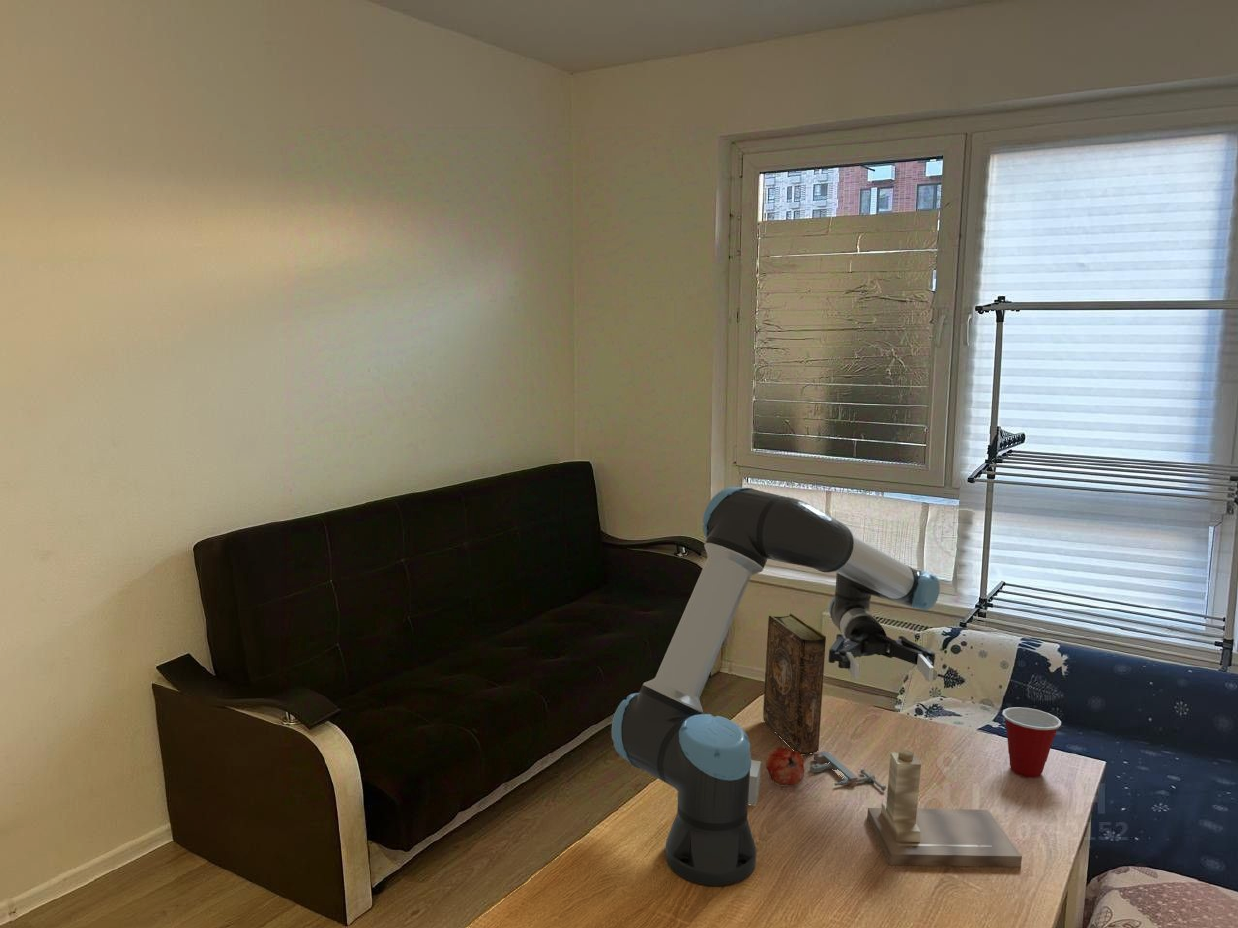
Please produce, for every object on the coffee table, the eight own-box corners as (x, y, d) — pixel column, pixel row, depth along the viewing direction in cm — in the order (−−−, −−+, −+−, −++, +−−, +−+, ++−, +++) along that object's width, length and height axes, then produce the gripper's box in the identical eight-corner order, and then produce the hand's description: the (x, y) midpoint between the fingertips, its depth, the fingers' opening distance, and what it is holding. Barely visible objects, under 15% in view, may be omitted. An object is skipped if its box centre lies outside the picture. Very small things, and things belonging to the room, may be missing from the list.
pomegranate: (760, 786, 180) (770, 779, 172) (762, 749, 184) (772, 740, 175) (797, 792, 180) (809, 785, 171) (798, 754, 184) (810, 745, 175)
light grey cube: (728, 785, 177) (729, 756, 176) (759, 790, 175) (761, 761, 174) (723, 801, 171) (724, 771, 170) (755, 806, 170) (757, 776, 168)
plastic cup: (1049, 761, 188) (1056, 707, 186) (1059, 788, 178) (1066, 731, 176) (993, 753, 191) (999, 700, 189) (1000, 779, 181) (1006, 723, 179)
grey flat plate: (889, 864, 153) (890, 853, 152) (867, 817, 166) (867, 807, 166) (1020, 866, 153) (1022, 855, 152) (987, 819, 167) (988, 809, 166)
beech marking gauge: (896, 841, 156) (902, 765, 153) (881, 812, 165) (886, 740, 162) (919, 841, 156) (926, 766, 153) (903, 812, 165) (909, 740, 162)
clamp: (801, 753, 186) (843, 746, 189) (800, 763, 186) (842, 756, 189) (842, 791, 172) (887, 783, 175) (842, 802, 172) (886, 793, 176)
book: (821, 752, 190) (829, 638, 185) (798, 756, 188) (805, 641, 184) (784, 717, 205) (790, 612, 201) (762, 720, 204) (768, 614, 199)
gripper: (921, 651, 188) (960, 694, 167) (801, 647, 188) (824, 690, 167) (925, 616, 187) (964, 655, 166) (803, 613, 187) (827, 652, 166)
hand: (894, 673), depth 167 cm, fingers open, 13 cm apart
